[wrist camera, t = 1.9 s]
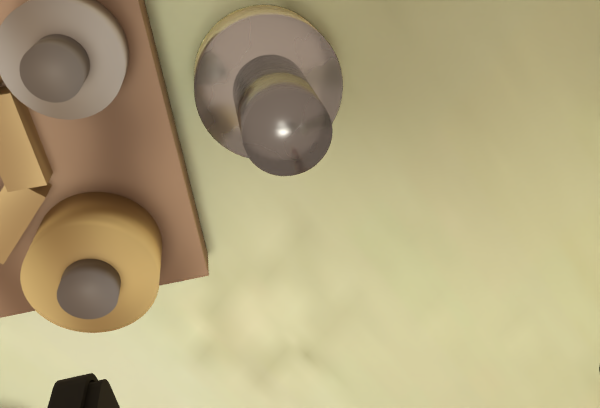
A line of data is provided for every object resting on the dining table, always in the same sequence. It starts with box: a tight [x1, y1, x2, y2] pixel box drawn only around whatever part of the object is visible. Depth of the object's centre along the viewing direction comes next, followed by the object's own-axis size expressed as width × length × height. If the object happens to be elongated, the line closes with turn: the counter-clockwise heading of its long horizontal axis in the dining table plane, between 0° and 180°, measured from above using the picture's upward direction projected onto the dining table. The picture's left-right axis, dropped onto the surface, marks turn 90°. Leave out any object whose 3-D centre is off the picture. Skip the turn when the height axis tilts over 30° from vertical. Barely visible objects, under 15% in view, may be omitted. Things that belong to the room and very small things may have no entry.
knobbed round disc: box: [194, 5, 343, 176], centre depth 23 cm, size 6×6×7 cm
